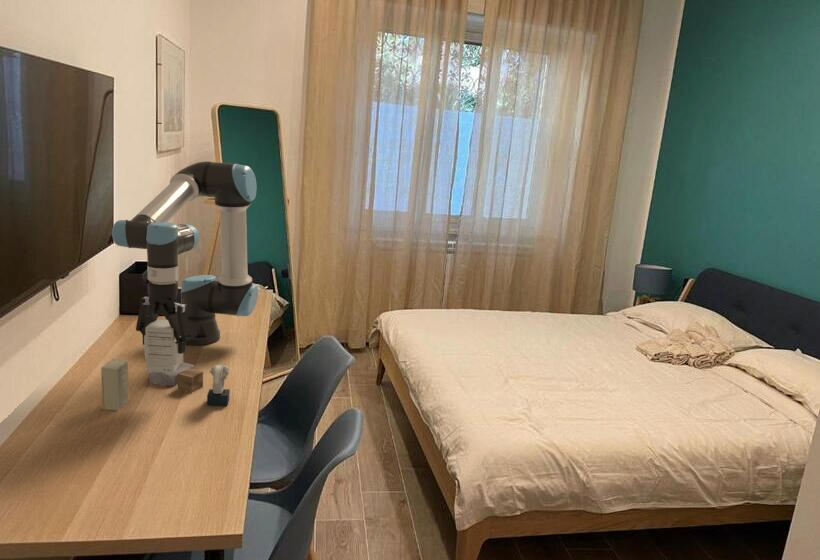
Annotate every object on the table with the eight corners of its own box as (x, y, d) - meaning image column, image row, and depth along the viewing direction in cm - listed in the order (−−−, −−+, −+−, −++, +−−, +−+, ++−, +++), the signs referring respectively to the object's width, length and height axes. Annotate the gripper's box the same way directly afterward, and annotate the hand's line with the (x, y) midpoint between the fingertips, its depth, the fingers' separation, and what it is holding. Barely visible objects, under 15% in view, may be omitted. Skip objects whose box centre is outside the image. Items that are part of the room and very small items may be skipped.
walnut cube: (189, 383, 179) (189, 368, 178) (202, 387, 178) (203, 371, 177) (177, 389, 175) (177, 373, 173) (191, 393, 173) (191, 377, 172)
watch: (230, 396, 173) (230, 360, 170) (226, 408, 165) (227, 371, 163) (210, 396, 172) (210, 360, 169) (205, 408, 164) (206, 371, 162)
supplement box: (154, 361, 167) (153, 318, 164) (181, 362, 168) (181, 320, 165) (145, 371, 160) (144, 327, 157) (173, 373, 161) (173, 328, 158)
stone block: (146, 388, 178) (176, 387, 176) (143, 373, 177) (173, 371, 175) (168, 375, 189) (197, 374, 187) (166, 361, 188) (194, 359, 186)
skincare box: (113, 400, 164) (112, 358, 162) (129, 401, 164) (128, 360, 162) (101, 410, 158) (100, 367, 156) (117, 411, 158) (116, 368, 156)
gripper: (119, 277, 158) (121, 356, 163) (187, 290, 151) (187, 372, 157) (140, 272, 165) (142, 348, 170) (206, 284, 158) (206, 363, 163)
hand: (163, 360), depth 163 cm, fingers closed on supplement box, 9 cm apart
